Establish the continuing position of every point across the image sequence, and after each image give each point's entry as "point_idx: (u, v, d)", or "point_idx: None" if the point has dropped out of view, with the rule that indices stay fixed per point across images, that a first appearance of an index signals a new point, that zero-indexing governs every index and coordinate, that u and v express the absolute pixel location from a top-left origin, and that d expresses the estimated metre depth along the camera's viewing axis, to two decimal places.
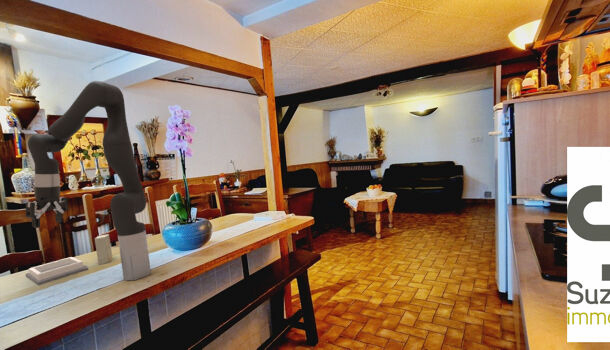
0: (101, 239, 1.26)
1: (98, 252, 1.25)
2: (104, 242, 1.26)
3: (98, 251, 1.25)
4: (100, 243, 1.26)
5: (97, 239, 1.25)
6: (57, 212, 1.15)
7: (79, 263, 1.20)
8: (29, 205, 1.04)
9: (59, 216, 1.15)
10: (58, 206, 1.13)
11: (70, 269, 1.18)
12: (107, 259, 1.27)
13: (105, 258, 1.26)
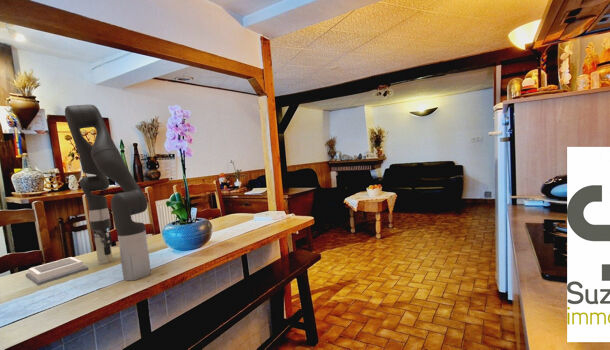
0: None
1: (98, 252, 1.25)
2: None
3: (98, 251, 1.25)
4: (100, 243, 1.26)
5: (97, 239, 1.25)
6: None
7: (79, 263, 1.20)
8: None
9: None
10: (100, 239, 1.25)
11: (70, 269, 1.18)
12: (107, 259, 1.27)
13: (105, 258, 1.26)
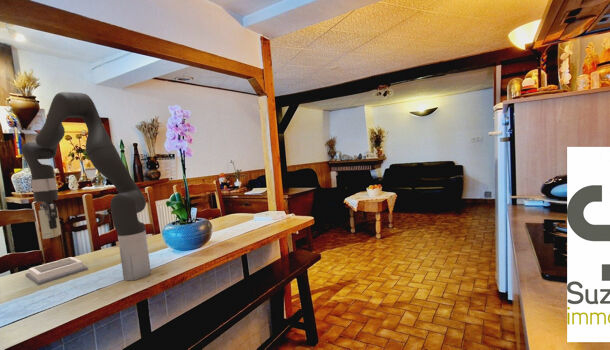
0: None
1: (42, 225, 1.15)
2: None
3: (42, 224, 1.15)
4: (45, 216, 1.15)
5: (41, 211, 1.15)
6: None
7: (79, 263, 1.20)
8: None
9: None
10: None
11: (70, 269, 1.18)
12: (53, 233, 1.16)
13: (50, 233, 1.16)
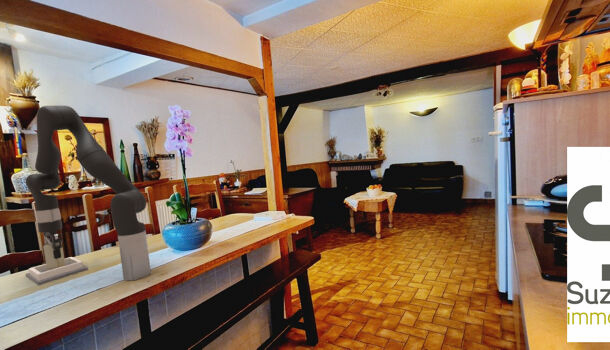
0: (50, 246, 1.16)
1: (47, 260, 1.16)
2: None
3: (47, 259, 1.16)
4: (49, 251, 1.16)
5: (46, 246, 1.16)
6: None
7: (79, 263, 1.20)
8: None
9: None
10: (49, 242, 1.16)
11: (70, 269, 1.18)
12: None
13: (55, 267, 1.17)
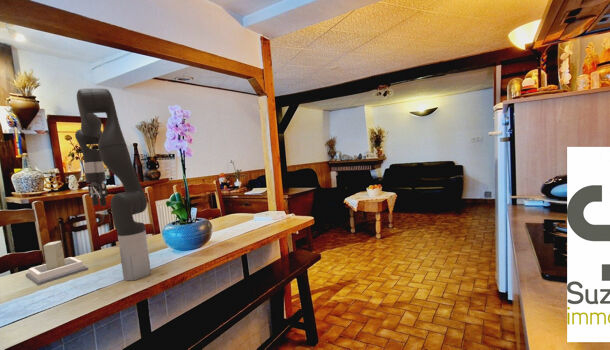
0: (50, 246, 1.16)
1: (47, 260, 1.16)
2: (54, 249, 1.17)
3: (47, 259, 1.16)
4: (49, 251, 1.16)
5: (46, 246, 1.16)
6: None
7: (79, 263, 1.20)
8: None
9: None
10: (95, 191, 1.29)
11: (70, 269, 1.18)
12: None
13: (55, 267, 1.17)
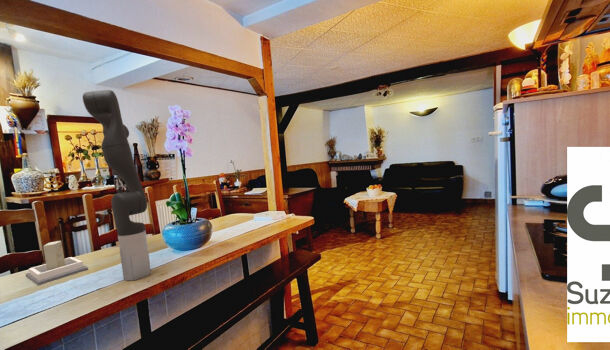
0: (50, 246, 1.16)
1: (47, 260, 1.16)
2: (54, 249, 1.17)
3: (47, 259, 1.16)
4: (49, 251, 1.16)
5: (46, 246, 1.16)
6: None
7: (79, 263, 1.20)
8: None
9: None
10: (121, 183, 1.37)
11: (70, 269, 1.18)
12: None
13: (55, 267, 1.17)
